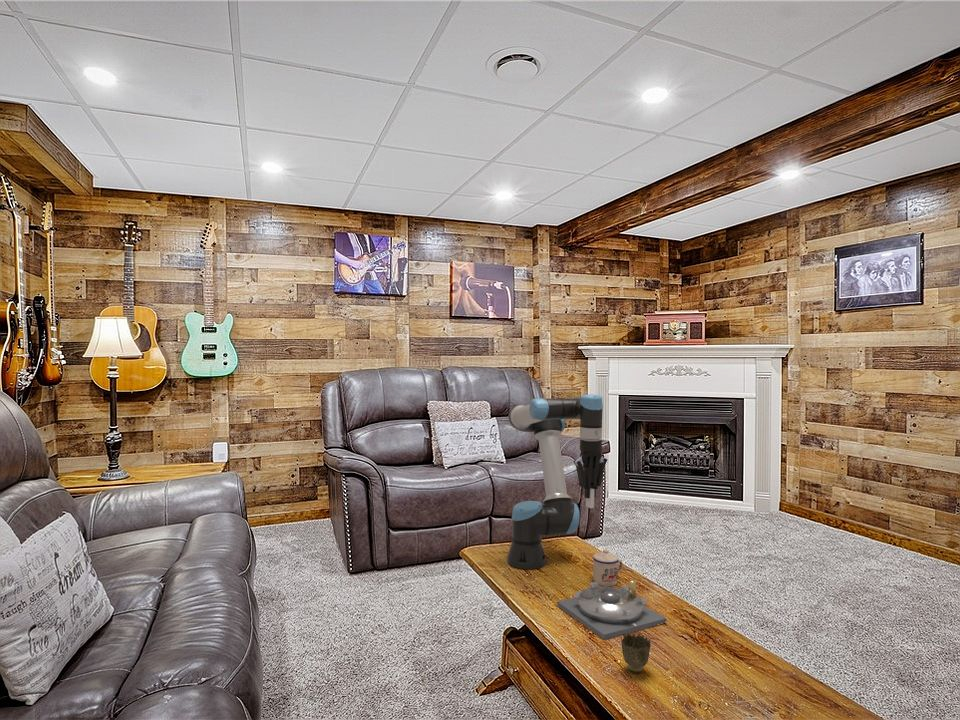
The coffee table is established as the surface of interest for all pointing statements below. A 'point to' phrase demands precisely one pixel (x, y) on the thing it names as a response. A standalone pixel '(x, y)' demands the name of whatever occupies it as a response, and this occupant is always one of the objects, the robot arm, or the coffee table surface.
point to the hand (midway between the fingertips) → (589, 507)
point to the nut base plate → (610, 629)
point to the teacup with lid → (606, 568)
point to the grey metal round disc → (611, 603)
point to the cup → (635, 651)
